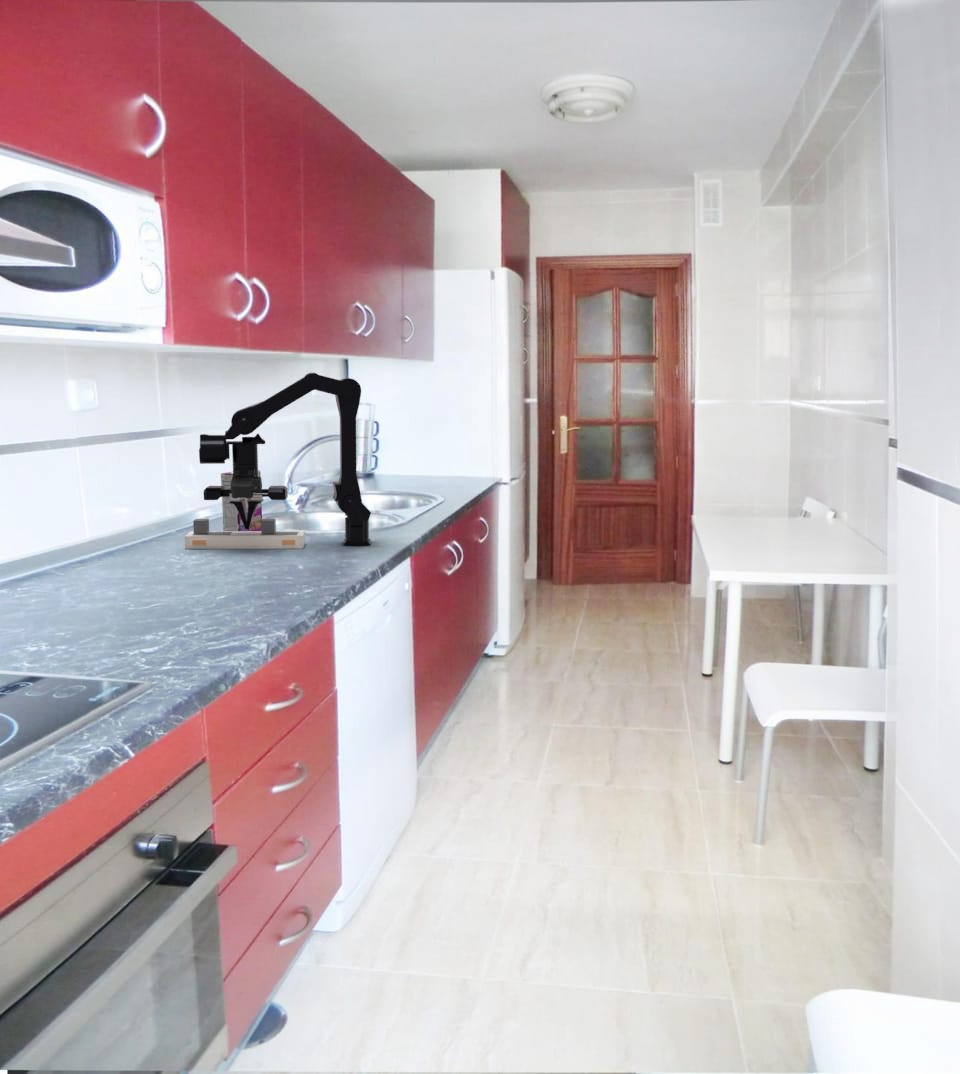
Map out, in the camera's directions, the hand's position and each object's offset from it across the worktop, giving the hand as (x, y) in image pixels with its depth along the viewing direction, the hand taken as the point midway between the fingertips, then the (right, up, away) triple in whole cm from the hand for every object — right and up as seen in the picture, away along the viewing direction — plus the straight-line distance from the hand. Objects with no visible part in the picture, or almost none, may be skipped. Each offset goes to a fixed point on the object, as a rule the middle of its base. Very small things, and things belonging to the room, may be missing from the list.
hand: (247, 529), depth 220 cm
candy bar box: (-5, -2, +16) cm, 16 cm away
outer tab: (-11, -1, -1) cm, 11 cm away
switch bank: (0, -4, +1) cm, 4 cm away
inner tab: (+5, -1, +1) cm, 5 cm away
